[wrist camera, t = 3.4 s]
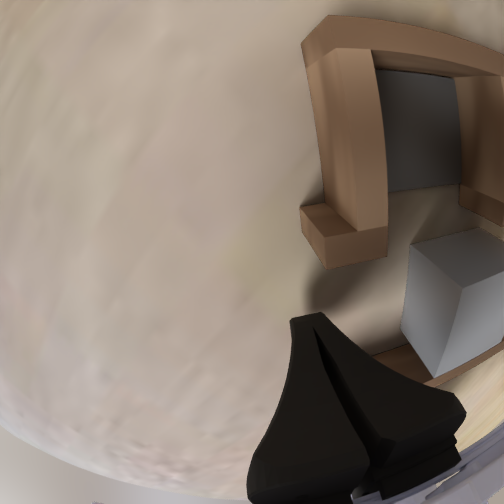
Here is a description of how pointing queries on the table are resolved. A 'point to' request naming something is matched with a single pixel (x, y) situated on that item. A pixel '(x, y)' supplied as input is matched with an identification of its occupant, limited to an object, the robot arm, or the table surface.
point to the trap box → (399, 139)
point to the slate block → (454, 298)
